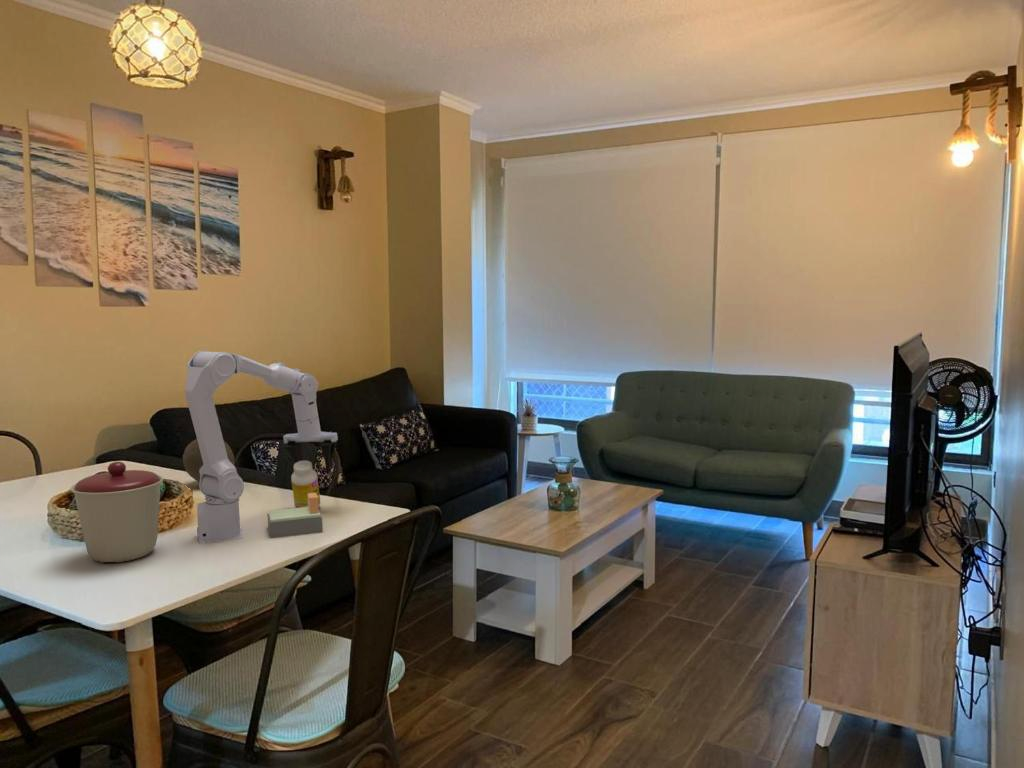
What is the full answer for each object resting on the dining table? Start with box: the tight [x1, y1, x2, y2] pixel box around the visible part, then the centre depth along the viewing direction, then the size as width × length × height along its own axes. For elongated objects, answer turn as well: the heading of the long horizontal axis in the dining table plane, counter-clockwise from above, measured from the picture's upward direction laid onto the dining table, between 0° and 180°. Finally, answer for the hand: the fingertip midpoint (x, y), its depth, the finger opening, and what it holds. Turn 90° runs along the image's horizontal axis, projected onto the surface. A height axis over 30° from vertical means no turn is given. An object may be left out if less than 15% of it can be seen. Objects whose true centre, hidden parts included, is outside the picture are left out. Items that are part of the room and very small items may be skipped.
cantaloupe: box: [182, 438, 235, 483], centre depth 232 cm, size 14×14×15 cm
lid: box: [268, 493, 322, 522], centre depth 184 cm, size 11×8×4 cm
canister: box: [70, 461, 164, 563], centre depth 168 cm, size 18×18×21 cm
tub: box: [266, 512, 324, 539], centre depth 185 cm, size 12×9×4 cm
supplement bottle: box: [290, 459, 321, 508], centre depth 201 cm, size 7×7×13 cm
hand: (315, 467), depth 201 cm, fingers open, 7 cm apart
